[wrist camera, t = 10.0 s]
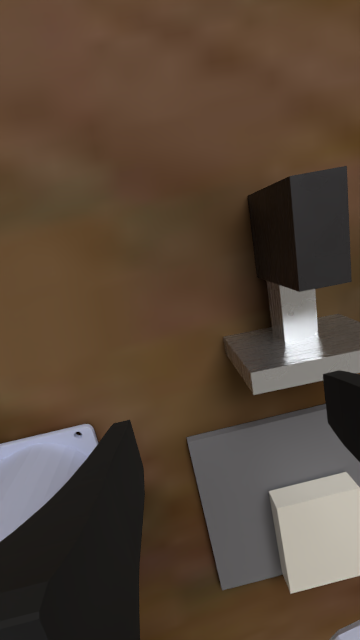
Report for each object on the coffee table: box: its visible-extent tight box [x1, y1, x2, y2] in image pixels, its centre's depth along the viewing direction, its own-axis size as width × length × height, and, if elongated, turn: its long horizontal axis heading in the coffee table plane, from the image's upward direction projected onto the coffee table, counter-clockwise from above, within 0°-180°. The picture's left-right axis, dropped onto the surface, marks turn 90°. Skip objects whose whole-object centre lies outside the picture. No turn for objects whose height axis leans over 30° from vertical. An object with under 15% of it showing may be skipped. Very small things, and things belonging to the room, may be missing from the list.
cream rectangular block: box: [269, 472, 360, 593], centre depth 24 cm, size 6×2×8 cm
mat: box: [187, 404, 360, 590], centre depth 24 cm, size 16×14×1 cm
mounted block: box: [223, 166, 360, 395], centre depth 18 cm, size 8×10×6 cm
